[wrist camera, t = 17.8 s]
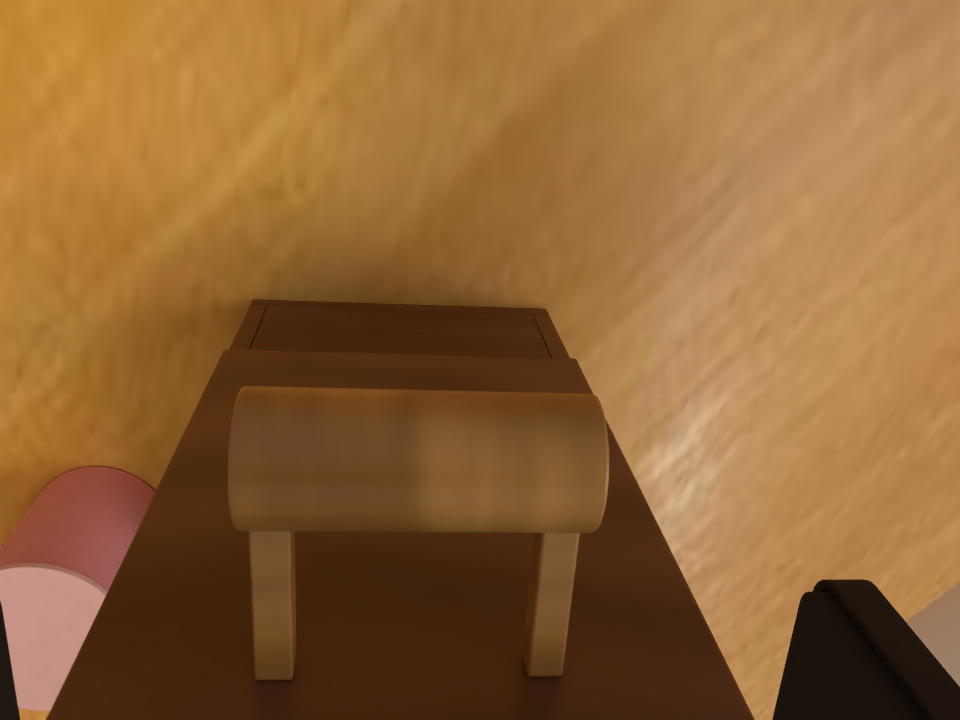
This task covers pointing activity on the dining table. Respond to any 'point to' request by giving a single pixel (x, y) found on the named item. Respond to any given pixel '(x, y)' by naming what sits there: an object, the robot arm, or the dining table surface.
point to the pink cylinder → (64, 572)
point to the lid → (398, 557)
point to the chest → (398, 329)
